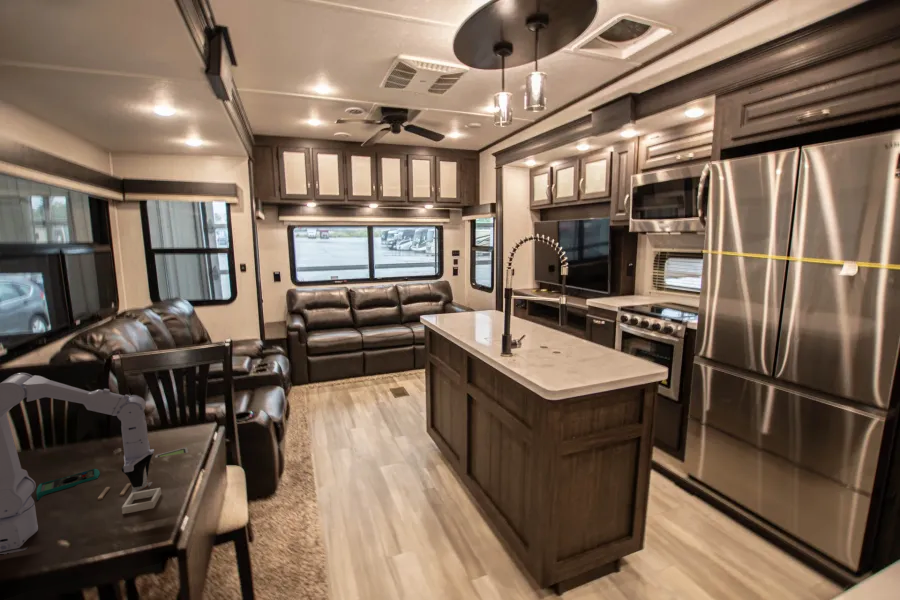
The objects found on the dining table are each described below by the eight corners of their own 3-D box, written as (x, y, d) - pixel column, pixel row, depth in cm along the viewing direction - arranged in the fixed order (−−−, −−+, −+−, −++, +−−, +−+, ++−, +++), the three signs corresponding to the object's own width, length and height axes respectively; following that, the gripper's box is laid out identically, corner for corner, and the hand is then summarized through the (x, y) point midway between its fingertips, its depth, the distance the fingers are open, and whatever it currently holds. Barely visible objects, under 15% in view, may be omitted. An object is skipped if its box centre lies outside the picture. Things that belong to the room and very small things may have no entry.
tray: (154, 512, 118) (152, 501, 117) (123, 518, 115) (121, 507, 114) (161, 498, 124) (160, 487, 124) (132, 503, 122) (131, 492, 121)
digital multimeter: (100, 483, 133) (99, 475, 133) (36, 502, 123) (35, 493, 123) (100, 474, 138) (99, 466, 138) (38, 491, 129) (37, 483, 128)
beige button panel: (150, 498, 124) (149, 492, 124) (93, 509, 119) (92, 503, 119) (160, 479, 134) (160, 474, 134) (108, 489, 129) (108, 483, 129)
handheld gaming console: (156, 472, 137) (154, 454, 149) (157, 476, 137) (155, 458, 149) (191, 462, 143) (186, 446, 155) (191, 466, 143) (187, 449, 155)
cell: (143, 489, 117) (141, 468, 116) (129, 490, 117) (127, 470, 116) (150, 482, 121) (147, 462, 120) (136, 483, 120) (133, 463, 119)
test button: (146, 488, 127) (145, 482, 126) (134, 490, 126) (133, 484, 125) (149, 483, 130) (148, 477, 129) (138, 485, 128) (137, 479, 128)
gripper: (143, 447, 112) (148, 493, 113) (159, 426, 125) (163, 467, 127) (112, 452, 109) (117, 499, 111) (131, 429, 122) (136, 471, 124)
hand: (140, 482), depth 119 cm, fingers closed on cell, 4 cm apart
